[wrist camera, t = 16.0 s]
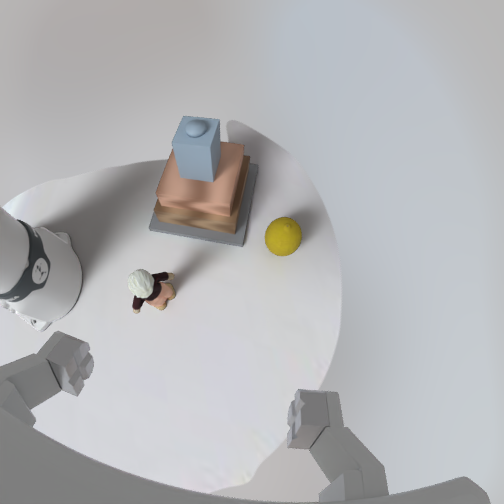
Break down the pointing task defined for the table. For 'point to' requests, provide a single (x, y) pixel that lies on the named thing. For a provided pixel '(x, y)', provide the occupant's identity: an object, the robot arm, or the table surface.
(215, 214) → the terracotta brick
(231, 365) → the table surface
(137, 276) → the grandmother figurine
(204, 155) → the blue knobbed block
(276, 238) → the lemon
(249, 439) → the table surface
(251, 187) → the baseplate
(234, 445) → the table surface
